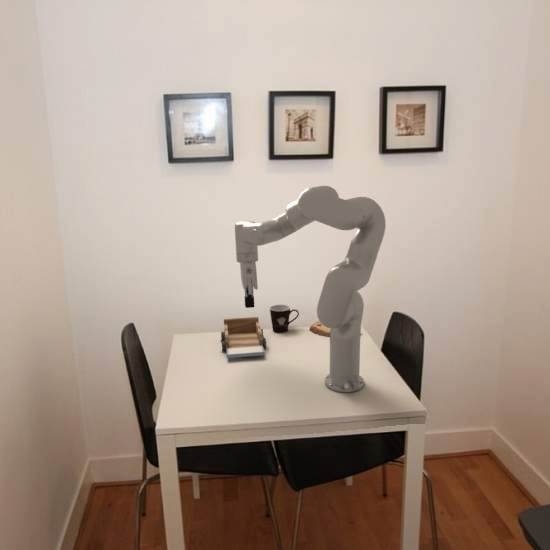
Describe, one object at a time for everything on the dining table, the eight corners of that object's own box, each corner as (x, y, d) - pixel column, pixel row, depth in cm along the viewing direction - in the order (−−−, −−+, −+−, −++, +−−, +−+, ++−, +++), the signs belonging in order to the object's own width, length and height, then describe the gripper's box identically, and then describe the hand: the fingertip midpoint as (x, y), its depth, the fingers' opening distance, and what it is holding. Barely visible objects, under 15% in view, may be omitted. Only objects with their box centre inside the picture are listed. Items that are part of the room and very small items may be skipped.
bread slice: (364, 336, 191) (364, 328, 190) (323, 343, 186) (323, 334, 185) (343, 322, 208) (343, 314, 207) (306, 328, 202) (306, 319, 201)
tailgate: (262, 348, 178) (264, 355, 172) (226, 351, 176) (227, 357, 170) (262, 345, 177) (264, 351, 172) (226, 348, 176) (227, 354, 170)
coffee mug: (267, 333, 196) (266, 310, 194) (273, 325, 204) (273, 304, 202) (294, 335, 193) (294, 312, 191) (299, 328, 201) (299, 305, 199)
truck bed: (266, 350, 179) (266, 330, 177) (222, 353, 177) (221, 333, 175) (262, 334, 195) (261, 316, 193) (221, 337, 193) (220, 319, 191)
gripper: (260, 260, 157) (262, 312, 162) (255, 252, 171) (257, 300, 176) (238, 262, 156) (241, 314, 161) (234, 253, 170) (237, 301, 175)
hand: (249, 306), depth 168 cm, fingers closed
